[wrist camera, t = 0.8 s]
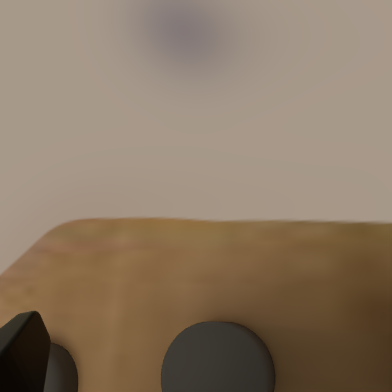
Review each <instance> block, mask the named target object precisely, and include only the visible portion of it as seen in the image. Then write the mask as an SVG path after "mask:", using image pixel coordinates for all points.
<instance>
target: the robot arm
mask: <svg viewBox="0 0 392 392" xmlns="http://www.w3.org/2000/svg"><path fill="white" fill-rule="evenodd" d="M50 348H51V340H50V336H49V334H48V332H47V329H46V327H45V325H44V322H43V320H42V318H41V315H40V314H39V313H38V312H37V311H30V312H25V313H20V314H18V315H16V316H15V317H14V318H13V319H11V320H10V321H9V322H8V323H7V324H5V325H4V326H3V327H2V328H0V392H44V386H45V380H46V374H47V367H48V361H49V355H50Z"/></svg>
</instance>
